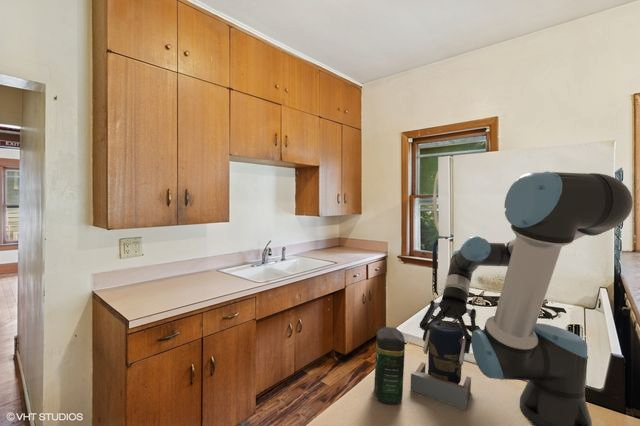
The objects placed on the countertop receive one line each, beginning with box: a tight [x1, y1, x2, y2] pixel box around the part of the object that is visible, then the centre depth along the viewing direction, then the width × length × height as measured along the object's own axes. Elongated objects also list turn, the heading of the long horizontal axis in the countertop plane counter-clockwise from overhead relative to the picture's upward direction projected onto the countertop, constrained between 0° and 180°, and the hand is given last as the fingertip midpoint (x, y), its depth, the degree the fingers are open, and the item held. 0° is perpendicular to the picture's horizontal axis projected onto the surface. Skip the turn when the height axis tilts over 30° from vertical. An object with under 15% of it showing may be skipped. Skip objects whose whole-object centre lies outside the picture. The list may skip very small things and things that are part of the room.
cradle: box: [414, 362, 472, 401], centre depth 94 cm, size 14×8×4 cm, turn 56°
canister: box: [427, 320, 464, 385], centre depth 96 cm, size 10×10×18 cm
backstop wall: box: [409, 370, 468, 411], centre depth 89 cm, size 15×2×5 cm, turn 56°
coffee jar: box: [373, 326, 406, 405], centre depth 90 cm, size 10×8×19 cm
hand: (442, 357), depth 93 cm, fingers closed on canister, 9 cm apart
